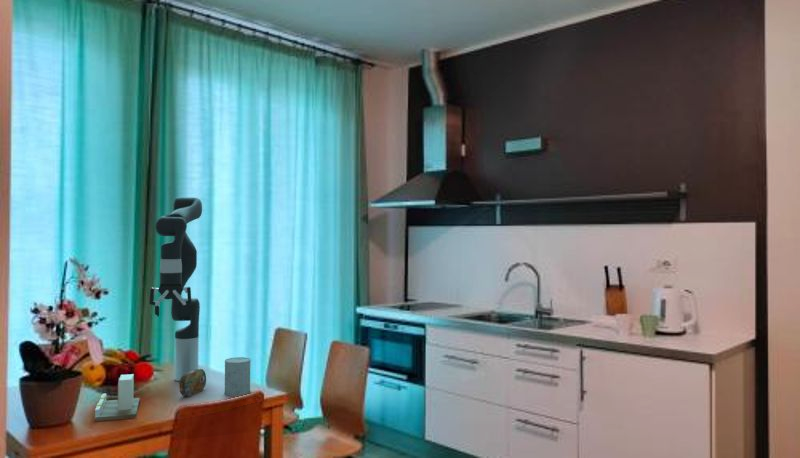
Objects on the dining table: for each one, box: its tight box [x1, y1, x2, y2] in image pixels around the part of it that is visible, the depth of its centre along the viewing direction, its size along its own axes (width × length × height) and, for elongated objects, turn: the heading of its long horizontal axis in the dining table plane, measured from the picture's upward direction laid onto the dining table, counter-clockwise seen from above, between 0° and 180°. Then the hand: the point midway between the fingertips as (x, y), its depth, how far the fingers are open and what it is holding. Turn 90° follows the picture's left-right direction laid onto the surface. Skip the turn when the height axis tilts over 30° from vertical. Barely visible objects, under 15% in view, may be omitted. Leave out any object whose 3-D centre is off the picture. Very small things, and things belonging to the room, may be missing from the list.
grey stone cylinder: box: [224, 356, 252, 397], centre depth 225 cm, size 10×10×12 cm
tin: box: [179, 368, 207, 397], centre depth 223 cm, size 15×3×8 cm, turn 168°
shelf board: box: [94, 397, 141, 422], centre depth 201 cm, size 20×12×1 cm, turn 20°
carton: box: [117, 373, 135, 410], centre depth 202 cm, size 4×8×10 cm, turn 20°
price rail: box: [94, 393, 107, 419], centre depth 199 cm, size 20×1×3 cm, turn 20°
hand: (170, 315), depth 217 cm, fingers open, 8 cm apart
